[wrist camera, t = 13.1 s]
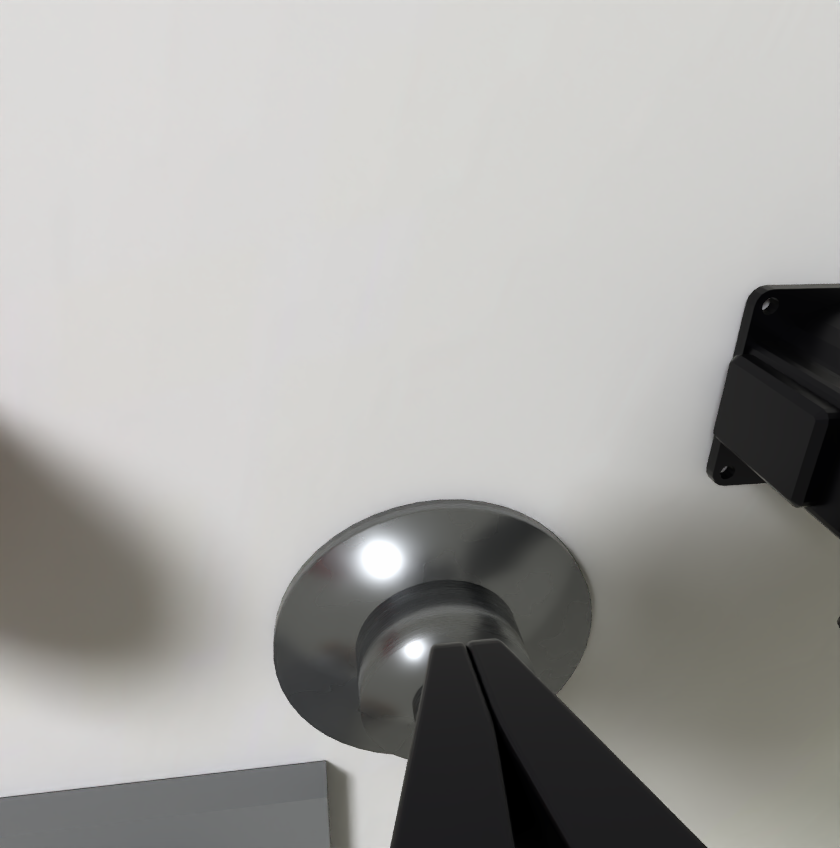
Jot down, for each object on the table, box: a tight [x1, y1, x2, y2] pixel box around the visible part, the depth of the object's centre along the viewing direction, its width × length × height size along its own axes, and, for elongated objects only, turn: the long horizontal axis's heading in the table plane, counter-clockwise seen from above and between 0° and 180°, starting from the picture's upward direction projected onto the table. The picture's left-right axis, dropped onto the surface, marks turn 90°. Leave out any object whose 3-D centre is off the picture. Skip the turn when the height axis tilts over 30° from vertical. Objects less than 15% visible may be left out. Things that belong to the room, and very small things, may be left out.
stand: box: [274, 500, 592, 759], centre depth 21 cm, size 11×11×6 cm
